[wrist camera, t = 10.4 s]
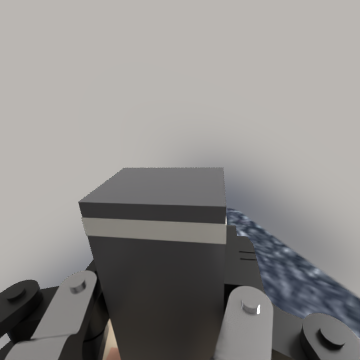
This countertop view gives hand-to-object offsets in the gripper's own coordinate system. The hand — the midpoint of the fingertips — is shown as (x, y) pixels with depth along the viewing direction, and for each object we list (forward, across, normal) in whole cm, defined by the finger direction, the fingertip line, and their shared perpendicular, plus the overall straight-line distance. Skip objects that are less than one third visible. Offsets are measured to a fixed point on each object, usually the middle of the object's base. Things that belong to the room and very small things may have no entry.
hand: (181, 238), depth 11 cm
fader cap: (-3, 0, +6) cm, 6 cm away
